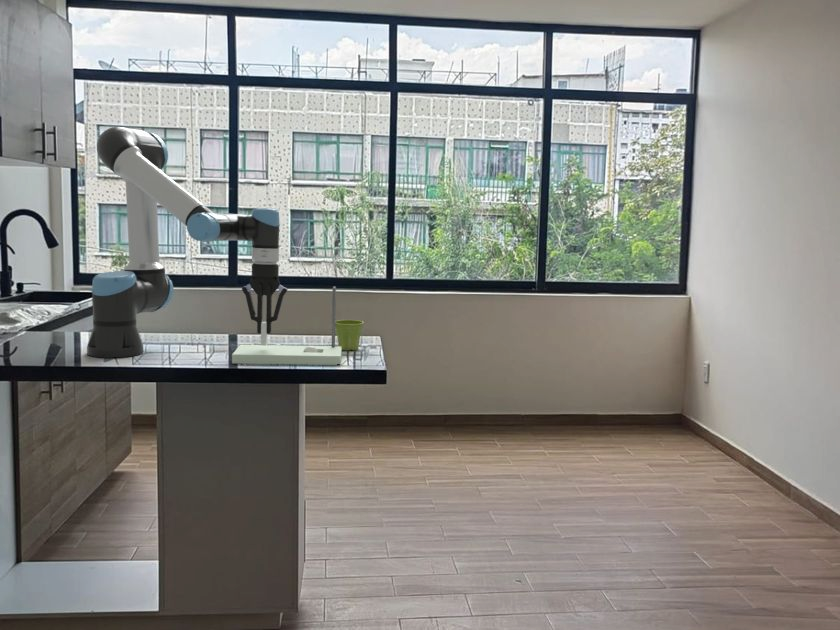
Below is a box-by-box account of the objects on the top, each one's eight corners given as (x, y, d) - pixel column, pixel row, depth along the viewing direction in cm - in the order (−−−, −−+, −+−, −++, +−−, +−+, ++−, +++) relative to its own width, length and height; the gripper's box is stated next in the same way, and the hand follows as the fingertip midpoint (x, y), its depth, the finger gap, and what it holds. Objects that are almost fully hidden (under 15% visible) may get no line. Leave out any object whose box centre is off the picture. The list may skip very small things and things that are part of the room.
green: (232, 363, 212) (232, 289, 210) (242, 350, 232) (242, 283, 229) (340, 364, 215) (341, 292, 213) (341, 352, 234) (342, 285, 232)
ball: (304, 345, 219) (318, 348, 220) (305, 343, 223) (319, 346, 224) (301, 359, 220) (315, 362, 220) (302, 356, 224) (316, 359, 224)
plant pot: (355, 352, 235) (356, 324, 234) (328, 350, 238) (328, 322, 237) (368, 348, 244) (368, 321, 243) (341, 345, 247) (342, 319, 246)
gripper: (240, 263, 213) (239, 346, 216) (287, 264, 215) (285, 347, 218) (243, 261, 221) (242, 341, 224) (289, 262, 222) (287, 343, 225)
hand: (264, 344), depth 221 cm, fingers closed
